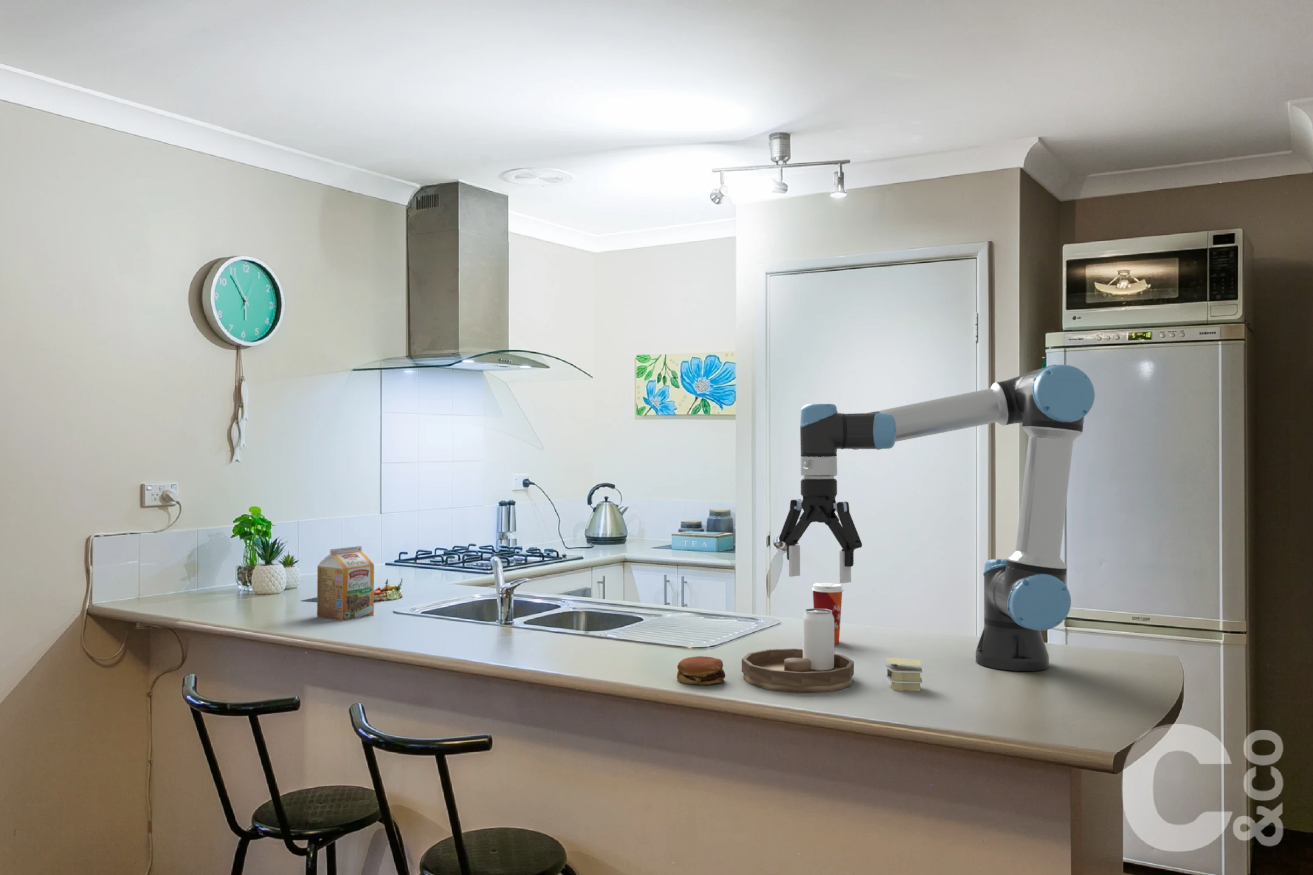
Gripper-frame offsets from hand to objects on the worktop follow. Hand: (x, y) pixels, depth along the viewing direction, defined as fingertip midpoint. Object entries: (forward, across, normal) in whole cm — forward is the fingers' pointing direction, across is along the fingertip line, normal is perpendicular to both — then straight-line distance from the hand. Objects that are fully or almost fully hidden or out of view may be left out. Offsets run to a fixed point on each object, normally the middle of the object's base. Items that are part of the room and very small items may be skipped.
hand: (819, 579), depth 201 cm
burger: (+20, -12, -23) cm, 33 cm away
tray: (+20, 0, -7) cm, 21 cm away
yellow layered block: (+20, +18, +4) cm, 27 cm away
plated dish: (+20, -154, -32) cm, 158 cm away
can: (+19, 0, 0) cm, 19 cm away
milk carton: (+19, -127, -49) cm, 138 cm away
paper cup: (+20, -20, +27) cm, 39 cm away
